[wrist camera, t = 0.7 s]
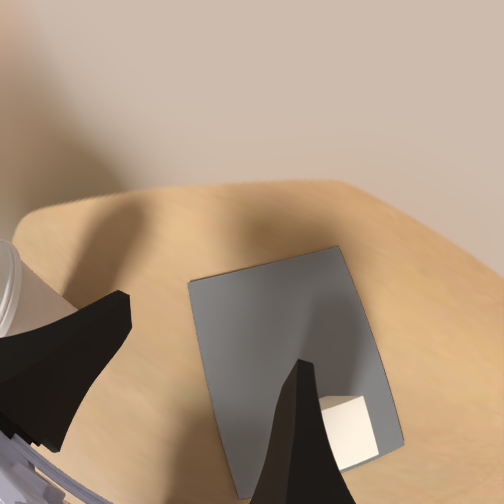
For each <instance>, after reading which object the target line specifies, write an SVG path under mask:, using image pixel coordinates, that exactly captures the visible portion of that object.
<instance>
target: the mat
mask: <svg viewBox="0 0 504 504" xmlns="http://www.w3.org/2000/svg"><path fill="white" fill-rule="evenodd" d="M187 284H188V290H189V296H190V302H191V307H192V313H193V318H194V324H195V329H196V334H197V339H198V344H199V349H200V353H201V358H202V363H203V367H204V372H205V376H206V381H207V385H208V389H209V394H210V398H211V402H212V406H213V410H214V414H215V418H216V422H217V426H218V429H219V433H220V437H221V440H222V444H223V448H224V451H225V455H226V458H227V462H228V465H229V468H230V472H231V475H232V478H233V481H234V485H235V488H236V491H237V494H238V497H239V499H244V498H250V497H252V496H253V494H254V491H255V488H256V486H257V483H258V480H259V477H260V474H261V471H262V468H263V465H264V462H265V458H266V454H267V450H268V445H269V440H270V435H271V429H272V424H273V419H274V414H275V408H276V405H277V401H278V398H279V395H280V391H281V388H282V385H283V384H284V382H285V380H286V379H287V377H288V375H289V373H290V372H291V370H292V368H293V367H294V365H295V363H296V361H297V359H301V360H304V361H308V362H311V363H313V364H314V368H315V377H316V385H317V391H318V397H319V398H322V397H325V396H363V397H364V401H365V404H366V408H367V411H368V415H369V418H370V422H371V426H372V429H373V433H374V437H375V441H376V445H377V449H378V453H379V454H378V455H376V456H374V457H372V458H369V459H367V460H365V461H362V462H360V463H357V464H355V465H352V466H350V467H347V468H344V469H342V470H340V473H342V472H345V471H348V470H350V469H353V468H355V467H358V466H360V465H363V464H365V463H368V462H370V461H372V460H375V459H377V458H379V457H381V456H383V455H386V454H388V453H390V452H392V451H394V450H396V449H398V448H400V447H402V446H404V441H403V437H402V433H401V429H400V425H399V421H398V417H397V413H396V410H395V406H394V402H393V399H392V395H391V392H390V388H389V385H388V382H387V378H386V375H385V372H384V369H383V365H382V362H381V359H380V356H379V353H378V350H377V347H376V344H375V341H374V338H373V335H372V332H371V329H370V327H369V324H368V321H367V318H366V315H365V313H364V310H363V307H362V304H361V302H360V299H359V296H358V294H357V291H356V289H355V286H354V283H353V281H352V278H351V276H350V273H349V271H348V268H347V266H346V264H345V261H344V259H343V256H342V254H341V251H340V249H339V247H338V246H337V247H333V248H329V249H325V250H321V251H317V252H313V253H309V254H305V255H301V256H297V257H293V258H289V259H285V260H281V261H277V262H273V263H269V264H265V265H261V266H257V267H252V268H248V269H244V270H240V271H236V272H232V273H227V274H223V275H219V276H215V277H210V278H206V279H202V280H198V281H193V282H189V283H187Z"/></svg>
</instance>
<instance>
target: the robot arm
mask: <svg viewBox="0 0 504 504" xmlns="http://www.w3.org/2000/svg"><path fill="white" fill-rule="evenodd" d="M131 329H132V321H131V309H130V295H128V294H126V293H124V292H122V291H119V290H117V291H115V292H113V293H111V294H109V295H107V296H105V297H103V298H101V299H99V300H98V301H96V302H94V303H92V304H90V305H88V306H86V307H84V308H82V309H80V310H78V311H76V312H74V313H72V314H70V315H68V316H66V317H64V318H62V319H59V320H57V321H55V322H53V323H50V324H48V325H45V326H42V327H40V328H37V329H34V330H31V331H27V332H23V333H20V334H16V335H12V336H7V337H2V338H0V500H1V501H0V504H70V503H68V502H67V501H65V500H64V497H65V495H66V494H65V493H64V492H63V491H62V490H61V489H60V488H58V487H57V486H56V485H55V484H53V483H52V482H51V481H49V480H48V479H46V478H45V477H43V476H42V475H40V474H39V473H37V472H36V471H35V467H37V468H38V469H39V470H40V471H41V472H43V473H44V474H45V475H46V476H48V477H49V478H50V479H52V480H53V481H54V482H56V483H57V484H58V485H60V486H61V487H63V488H64V489H65V490H67V491H68V492H70V493H71V494H73V495H74V496H76V497H77V498H79V499H80V500H82V501H83V502H85V503H86V504H113V503H111V502H110V501H108V500H106V499H104V498H103V497H101V496H99V495H98V494H96V493H94V492H93V491H91V490H89V489H88V488H86V487H85V486H83V485H81V484H80V483H78V482H77V481H75V480H74V479H72V478H71V477H70V476H68V475H67V474H65V473H64V472H63V471H61V470H60V469H58V468H57V467H56V466H54V465H53V464H52V463H50V462H49V461H48V460H47V459H45V458H44V457H43V456H42V455H40V454H39V453H38V452H37V451H36V450H34V449H33V448H32V447H31V446H30V445H31V443H32V442H33V443H34V444H36V445H37V446H38V447H39V446H40V444H42V445H44V446H45V447H46V448H47V449H49V450H50V451H51V452H53V453H56V452H60V449H61V446H62V443H63V441H64V438H65V436H66V433H67V431H68V428H69V426H70V424H71V422H72V419H73V417H74V415H75V413H76V411H77V409H78V408H79V406H80V404H81V402H82V400H83V398H84V397H85V395H86V393H87V391H88V390H89V388H90V386H91V385H92V384H93V382H94V381H95V379H96V378H97V377H98V375H99V374H100V373H101V372H102V370H103V369H104V368H105V366H106V365H107V364H108V363H109V361H110V360H111V359H112V358H113V356H114V355H115V354H116V352H117V351H118V350H119V348H120V347H121V346H122V344H123V342H124V341H125V339H126V338H127V336H128V334H129V332H130V331H131ZM250 504H356V503H355V501H354V499H353V497H352V496H351V494H350V492H349V490H348V488H347V486H346V483H345V481H344V479H343V477H342V475H341V473H340V470H339V468H338V465H337V463H336V460H335V458H334V455H333V452H332V449H331V446H330V443H329V440H328V436H327V432H326V429H325V425H324V421H323V417H322V412H321V407H320V402H319V397H318V391H317V385H316V377H315V368H314V364H313V363H311V362H308V361H304V360H301V359H297V361H296V363H295V365H294V367H293V368H292V370H291V372H290V373H289V375H288V377H287V379H286V380H285V382H284V384H283V385H282V388H281V391H280V395H279V398H278V401H277V405H276V408H275V414H274V419H273V424H272V429H271V435H270V440H269V445H268V450H267V454H266V458H265V462H264V465H263V468H262V471H261V474H260V477H259V480H258V483H257V486H256V488H255V491H254V494H253V496H252V499H251V501H250Z"/></svg>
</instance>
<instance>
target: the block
mask: <svg viewBox="0 0 504 504" xmlns="http://www.w3.org/2000/svg"><path fill="white" fill-rule="evenodd" d="M319 402H320V407H321V412H322V417H323V421H324V425H325V429H326V432H327V436H328V440H329V443H330V446H331V449H332V452H333V455H334V458H335V460H336V463H337V465H338V468H339V470H342V469H344V468H347V467H350V466H352V465H355V464H357V463H360V462H362V461H365V460H367V459H369V458H372V457H374V456H376V455H378V454H379V453H378V449H377V445H376V441H375V437H374V433H373V429H372V426H371V422H370V418H369V415H368V411H367V408H366V404H365V401H364V397H363V396H325V397H322V398H319Z"/></svg>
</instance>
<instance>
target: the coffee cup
mask: <svg viewBox="0 0 504 504" xmlns="http://www.w3.org/2000/svg"><path fill="white" fill-rule="evenodd" d="M76 311H78V309H77V308H75V307H74V306H73V305H71V304H70V303H69V302H68V301H67V300H65V299H64V298H63V297H62V296H60V295H59V294H58V293H57V292H56V291H54V290H53V289H52V288H51V287H50V286H49V285H47V284H46V283H45V282H44V281H43V280H42V279H41V278H40V277H39V276H37V275H36V274H35V273H34V272H33V271H32V270H31V269H30V268H29V267H28V266H27V265H26V264H25V263H24V262H23V261H22V260H21V259H20V255H19V253H18V250H17V249H16V247H15V246H14V245H13V244H12V243H10V242H8V241H6V240H3V239H0V338H2V337H7V336H12V335H16V334H20V333H23V332H27V331H31V330H34V329H37V328H40V327H42V326H45V325H48V324H50V323H53V322H55V321H57V320H59V319H62V318H64V317H66V316H68V315H70V314H72V313H74V312H76Z"/></svg>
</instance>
